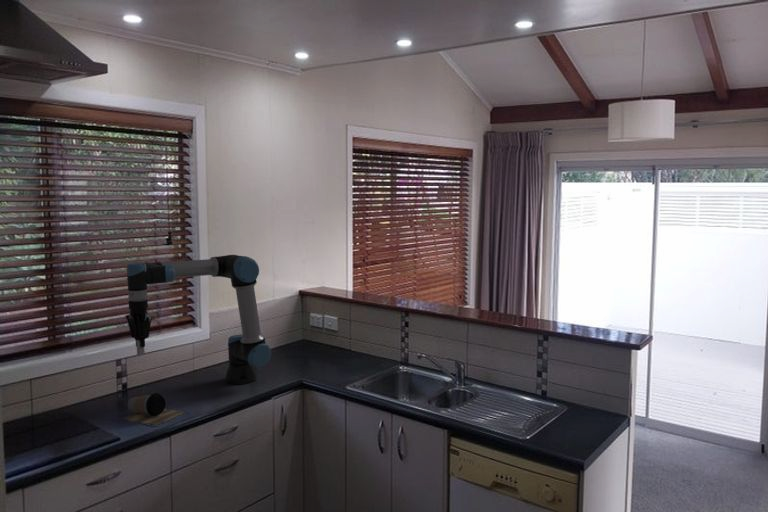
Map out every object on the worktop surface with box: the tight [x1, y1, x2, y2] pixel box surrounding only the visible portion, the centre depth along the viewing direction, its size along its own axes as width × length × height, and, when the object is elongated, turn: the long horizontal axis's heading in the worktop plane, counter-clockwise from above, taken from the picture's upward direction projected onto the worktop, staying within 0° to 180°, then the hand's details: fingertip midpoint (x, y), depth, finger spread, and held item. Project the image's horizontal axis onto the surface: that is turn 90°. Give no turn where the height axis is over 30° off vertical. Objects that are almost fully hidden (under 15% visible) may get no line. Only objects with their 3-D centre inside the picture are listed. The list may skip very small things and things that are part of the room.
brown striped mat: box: [122, 408, 185, 427], centre depth 266 cm, size 18×16×1 cm
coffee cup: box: [127, 392, 166, 416], centre depth 267 cm, size 9×9×15 cm
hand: (140, 354), depth 266 cm, fingers closed
